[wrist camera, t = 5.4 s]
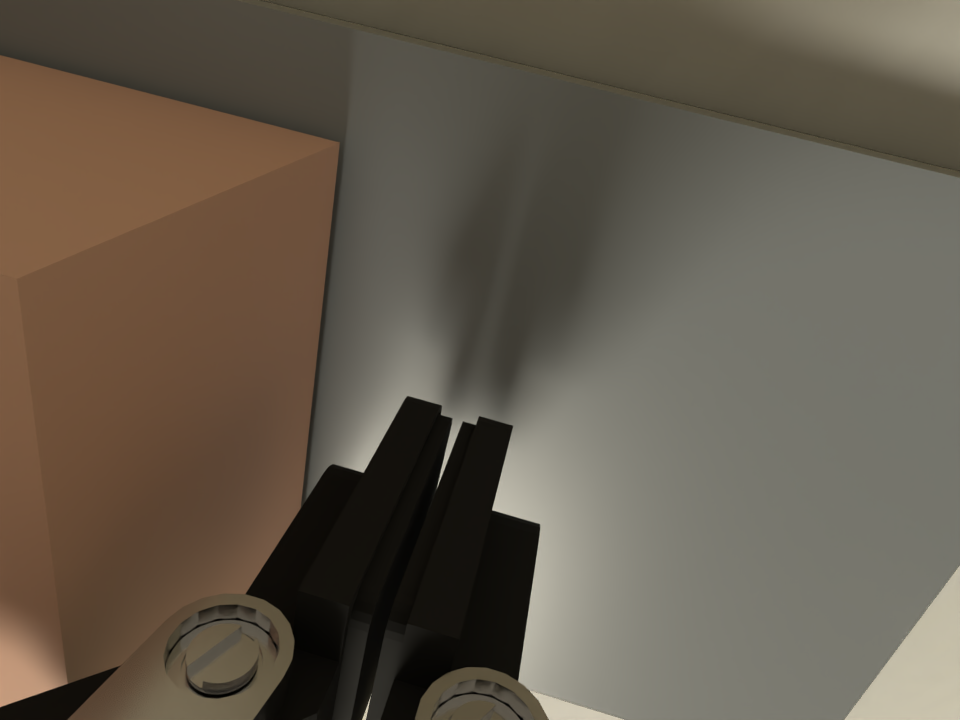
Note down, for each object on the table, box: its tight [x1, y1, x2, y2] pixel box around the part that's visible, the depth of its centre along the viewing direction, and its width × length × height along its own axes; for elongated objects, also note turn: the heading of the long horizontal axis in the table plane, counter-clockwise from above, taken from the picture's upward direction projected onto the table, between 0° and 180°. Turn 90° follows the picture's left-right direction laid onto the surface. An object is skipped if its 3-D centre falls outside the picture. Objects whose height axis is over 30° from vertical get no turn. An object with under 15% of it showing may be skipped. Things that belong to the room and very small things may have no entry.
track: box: [0, 0, 960, 720], centre depth 13 cm, size 25×12×1 cm, turn 78°
